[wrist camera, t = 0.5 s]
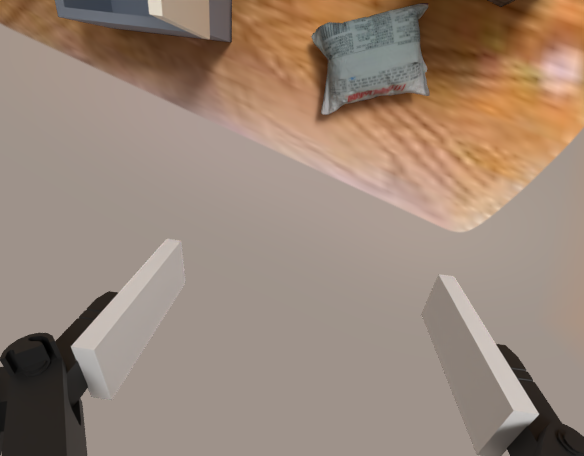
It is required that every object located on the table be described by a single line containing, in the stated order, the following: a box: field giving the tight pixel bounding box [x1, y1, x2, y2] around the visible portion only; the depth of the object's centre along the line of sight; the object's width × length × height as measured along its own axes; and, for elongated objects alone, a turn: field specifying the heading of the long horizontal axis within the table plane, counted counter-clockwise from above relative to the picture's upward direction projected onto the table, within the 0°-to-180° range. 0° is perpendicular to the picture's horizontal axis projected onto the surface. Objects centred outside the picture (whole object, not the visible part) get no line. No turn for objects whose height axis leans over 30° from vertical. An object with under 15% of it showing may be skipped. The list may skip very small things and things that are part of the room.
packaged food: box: [311, 3, 429, 115], centre depth 32 cm, size 9×12×5 cm
